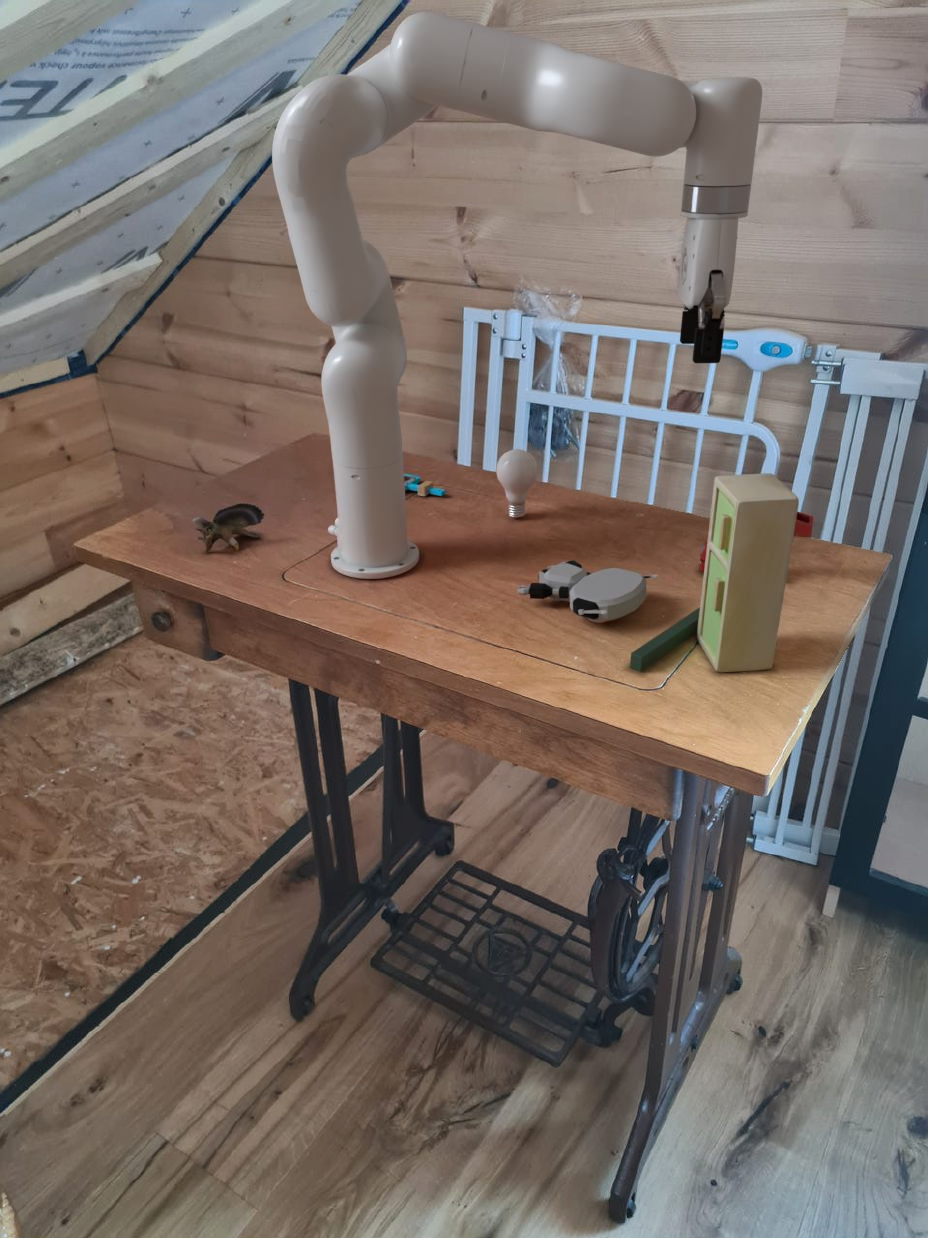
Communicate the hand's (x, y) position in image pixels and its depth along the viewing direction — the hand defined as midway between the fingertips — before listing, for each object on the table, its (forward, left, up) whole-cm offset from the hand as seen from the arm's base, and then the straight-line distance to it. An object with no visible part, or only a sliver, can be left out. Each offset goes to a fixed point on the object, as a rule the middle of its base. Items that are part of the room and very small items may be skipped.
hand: (699, 352), depth 114 cm
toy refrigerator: (+17, -16, -30) cm, 38 cm away
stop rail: (+11, -18, -30) cm, 36 cm away
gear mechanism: (-52, -7, -30) cm, 60 cm away
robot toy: (-2, -18, -30) cm, 35 cm away
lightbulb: (-28, -2, -30) cm, 41 cm away
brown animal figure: (-53, -38, -30) cm, 72 cm away
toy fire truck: (+9, +4, -30) cm, 31 cm away
